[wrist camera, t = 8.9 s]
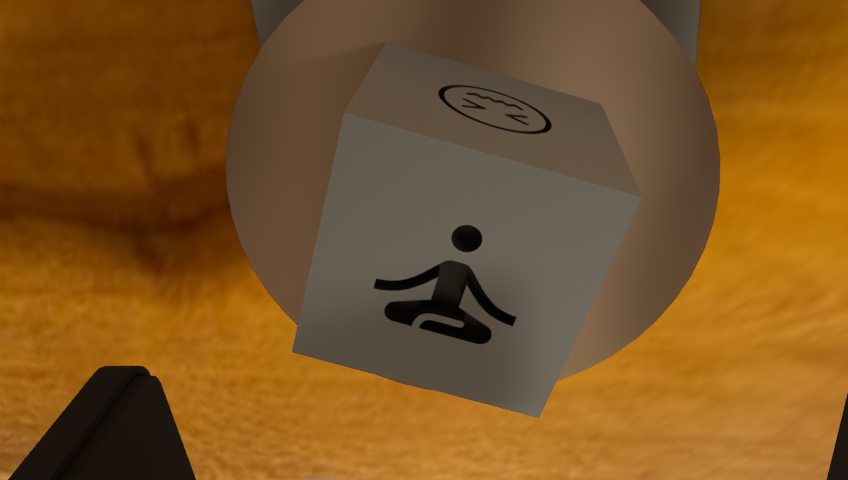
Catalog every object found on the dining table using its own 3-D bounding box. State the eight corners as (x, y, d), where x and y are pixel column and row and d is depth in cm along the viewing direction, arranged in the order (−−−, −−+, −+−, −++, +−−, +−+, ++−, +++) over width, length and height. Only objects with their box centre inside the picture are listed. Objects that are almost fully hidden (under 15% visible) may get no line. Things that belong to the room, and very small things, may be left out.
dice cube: (341, 231, 18) (292, 352, 13) (387, 41, 15) (344, 112, 11) (528, 283, 18) (538, 417, 14) (600, 104, 16) (642, 197, 11)
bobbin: (702, -151, 23) (868, -161, 13) (675, 224, 30) (770, 415, 19) (241, -98, 25) (67, -71, 15) (310, 242, 32) (222, 423, 21)
